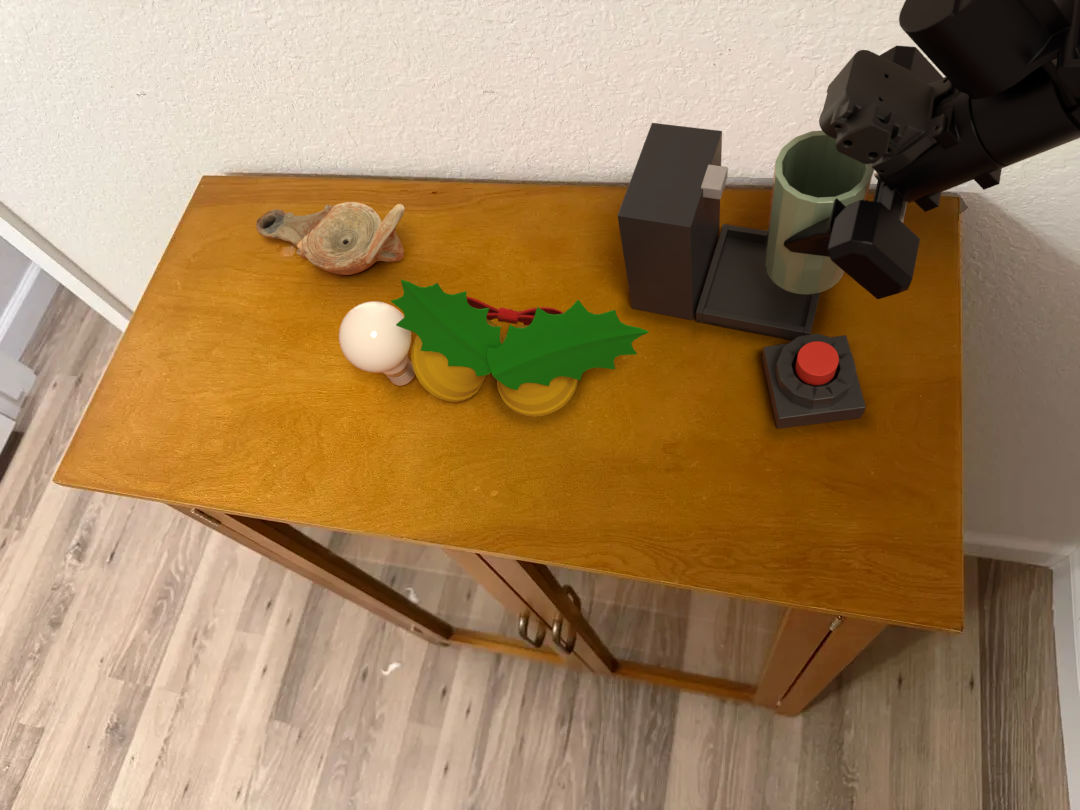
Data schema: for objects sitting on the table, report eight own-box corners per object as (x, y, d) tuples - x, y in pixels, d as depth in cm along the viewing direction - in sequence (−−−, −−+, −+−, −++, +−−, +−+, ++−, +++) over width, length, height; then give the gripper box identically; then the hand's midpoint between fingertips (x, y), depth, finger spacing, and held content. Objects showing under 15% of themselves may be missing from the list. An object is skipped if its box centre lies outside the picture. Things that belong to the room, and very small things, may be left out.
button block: (842, 347, 68) (849, 323, 65) (861, 418, 65) (870, 398, 62) (761, 358, 70) (764, 336, 66) (776, 429, 66) (780, 409, 63)
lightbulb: (361, 391, 76) (312, 335, 66) (395, 339, 78) (353, 278, 68) (413, 415, 74) (370, 361, 64) (447, 361, 76) (411, 301, 66)
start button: (830, 348, 65) (834, 338, 63) (839, 382, 63) (843, 372, 62) (791, 354, 65) (793, 344, 64) (799, 387, 64) (801, 378, 62)
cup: (858, 242, 67) (886, 142, 56) (830, 304, 65) (855, 212, 54) (781, 221, 69) (795, 121, 59) (752, 280, 67) (761, 188, 57)
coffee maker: (830, 252, 73) (856, 143, 60) (807, 344, 69) (830, 248, 57) (660, 225, 78) (651, 119, 65) (631, 309, 74) (616, 215, 62)
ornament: (610, 373, 77) (648, 255, 66) (610, 439, 72) (652, 322, 60) (403, 343, 76) (407, 216, 64) (387, 408, 70) (388, 281, 59)
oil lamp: (417, 306, 79) (381, 247, 70) (252, 265, 86) (200, 207, 77) (450, 239, 82) (419, 174, 73) (288, 205, 89) (242, 142, 80)
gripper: (943, -67, 48) (756, 61, 62) (893, 160, 42) (695, 249, 55) (1036, 47, 53) (843, 144, 66) (1004, 269, 46) (797, 327, 60)
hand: (797, 210), depth 62 cm, fingers closed on cup, 7 cm apart
